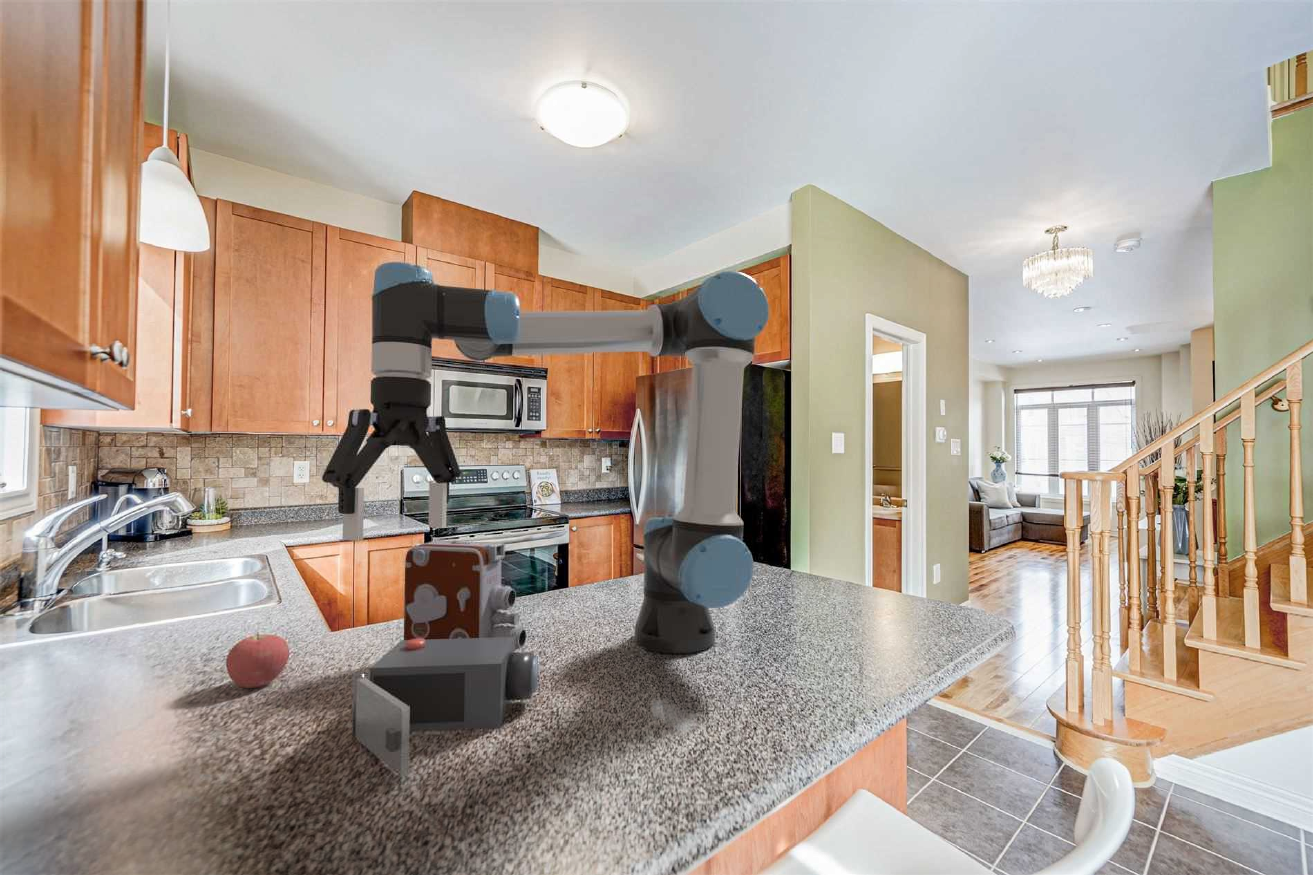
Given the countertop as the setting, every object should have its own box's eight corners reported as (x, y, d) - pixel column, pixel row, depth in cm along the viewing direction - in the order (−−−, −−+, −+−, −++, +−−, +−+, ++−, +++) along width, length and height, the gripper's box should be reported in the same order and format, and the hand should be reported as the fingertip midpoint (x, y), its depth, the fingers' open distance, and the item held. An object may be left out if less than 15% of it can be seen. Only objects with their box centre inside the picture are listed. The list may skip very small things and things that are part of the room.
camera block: (539, 691, 77) (540, 630, 77) (529, 726, 67) (529, 656, 67) (400, 697, 75) (401, 634, 76) (368, 733, 65) (369, 661, 66)
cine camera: (506, 679, 81) (508, 549, 82) (395, 669, 85) (398, 544, 86) (532, 657, 90) (533, 540, 91) (431, 649, 94) (432, 536, 95)
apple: (213, 691, 77) (215, 636, 77) (265, 672, 84) (267, 621, 84) (247, 699, 75) (249, 642, 75) (298, 679, 81) (299, 626, 82)
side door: (344, 736, 64) (345, 676, 64) (361, 730, 65) (362, 671, 65) (394, 780, 55) (395, 710, 55) (412, 771, 57) (413, 703, 57)
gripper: (449, 390, 86) (447, 521, 85) (291, 365, 63) (286, 544, 62) (485, 388, 83) (483, 523, 82) (333, 361, 60) (329, 549, 59)
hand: (398, 533), depth 72 cm, fingers open, 13 cm apart
